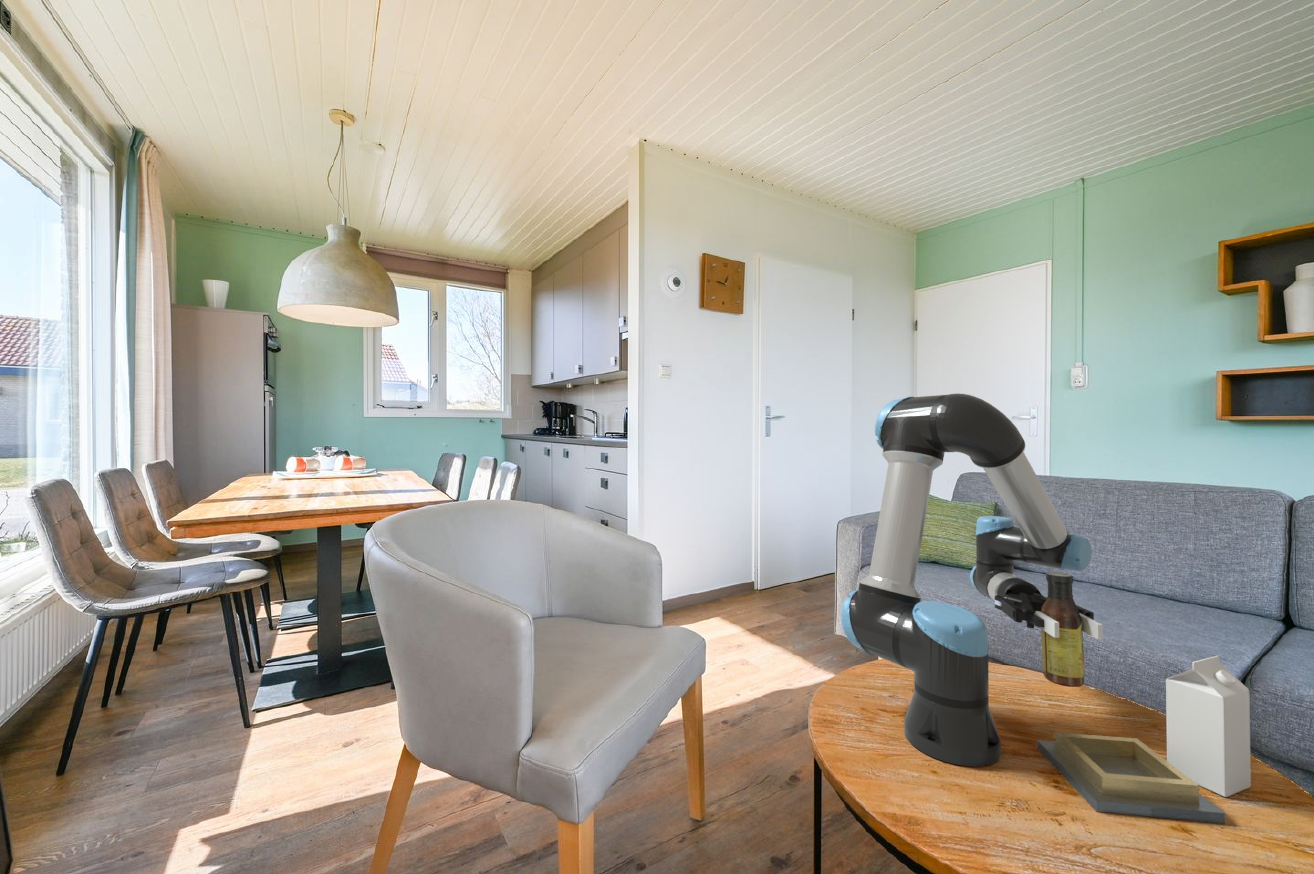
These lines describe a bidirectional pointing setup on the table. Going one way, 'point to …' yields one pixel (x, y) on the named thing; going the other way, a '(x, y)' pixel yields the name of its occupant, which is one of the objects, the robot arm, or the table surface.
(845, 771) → the table surface
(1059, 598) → the sauce bottle
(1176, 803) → the plate
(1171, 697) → the milk carton
